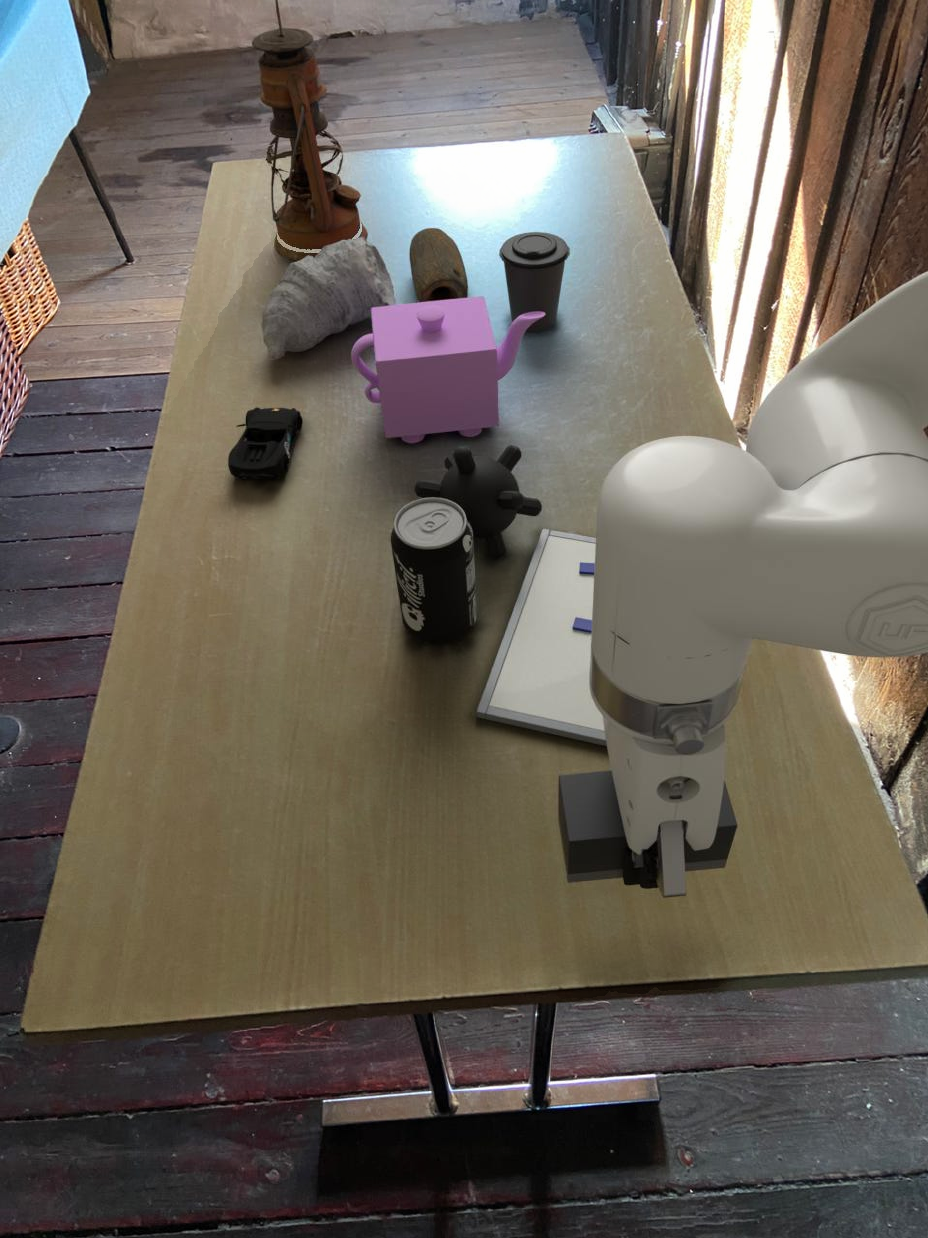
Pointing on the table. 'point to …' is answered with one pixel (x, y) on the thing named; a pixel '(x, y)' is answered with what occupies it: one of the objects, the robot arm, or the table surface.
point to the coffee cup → (534, 275)
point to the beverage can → (435, 570)
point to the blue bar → (587, 568)
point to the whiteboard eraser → (618, 830)
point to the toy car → (265, 443)
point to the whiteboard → (548, 647)
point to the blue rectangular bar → (582, 625)
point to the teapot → (438, 366)
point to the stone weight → (437, 267)
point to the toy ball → (483, 493)
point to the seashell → (325, 296)
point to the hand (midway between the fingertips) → (640, 839)
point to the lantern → (303, 147)
